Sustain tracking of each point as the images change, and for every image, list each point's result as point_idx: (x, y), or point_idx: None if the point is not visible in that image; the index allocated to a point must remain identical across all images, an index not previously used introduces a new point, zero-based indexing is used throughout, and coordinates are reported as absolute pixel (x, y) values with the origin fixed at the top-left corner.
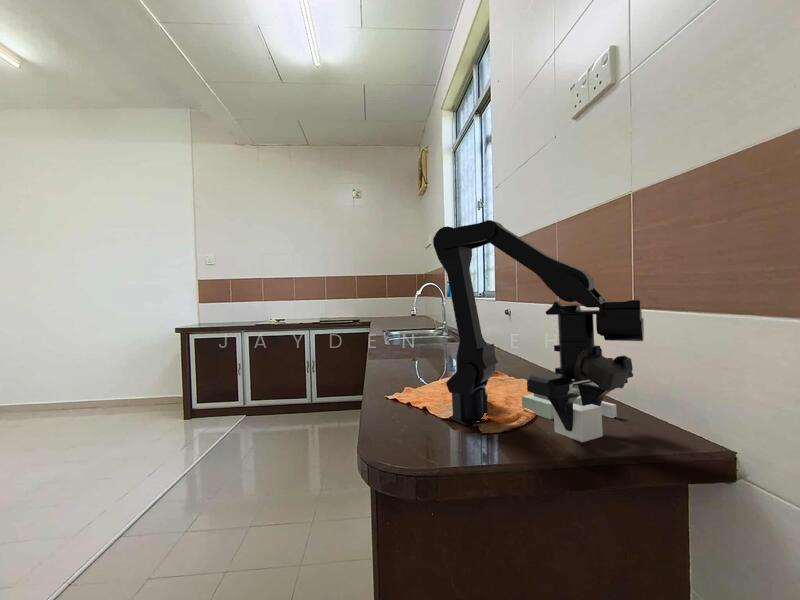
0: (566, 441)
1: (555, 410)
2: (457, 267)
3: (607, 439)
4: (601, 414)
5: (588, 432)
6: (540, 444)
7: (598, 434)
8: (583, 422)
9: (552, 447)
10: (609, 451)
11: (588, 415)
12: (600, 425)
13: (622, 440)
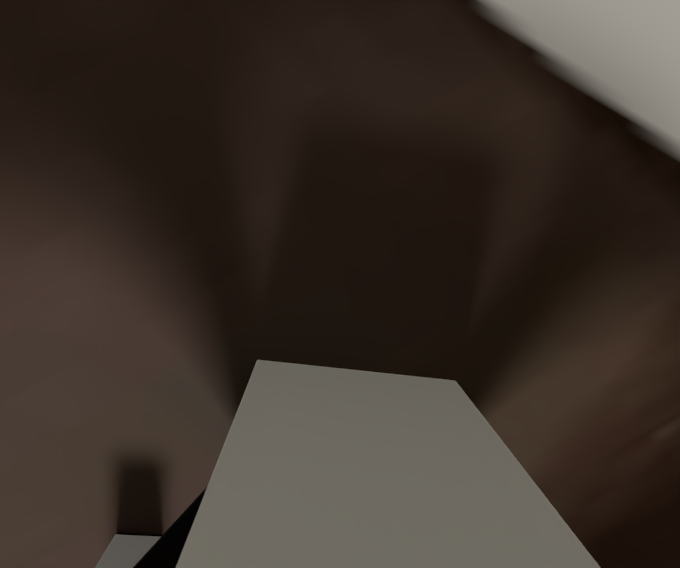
0: (506, 439)
1: None
2: None
3: (285, 308)
4: (202, 509)
5: (410, 407)
6: (638, 489)
7: (299, 375)
8: (512, 489)
9: (643, 430)
10: (493, 177)
11: (465, 552)
12: (258, 415)
13: (218, 229)
